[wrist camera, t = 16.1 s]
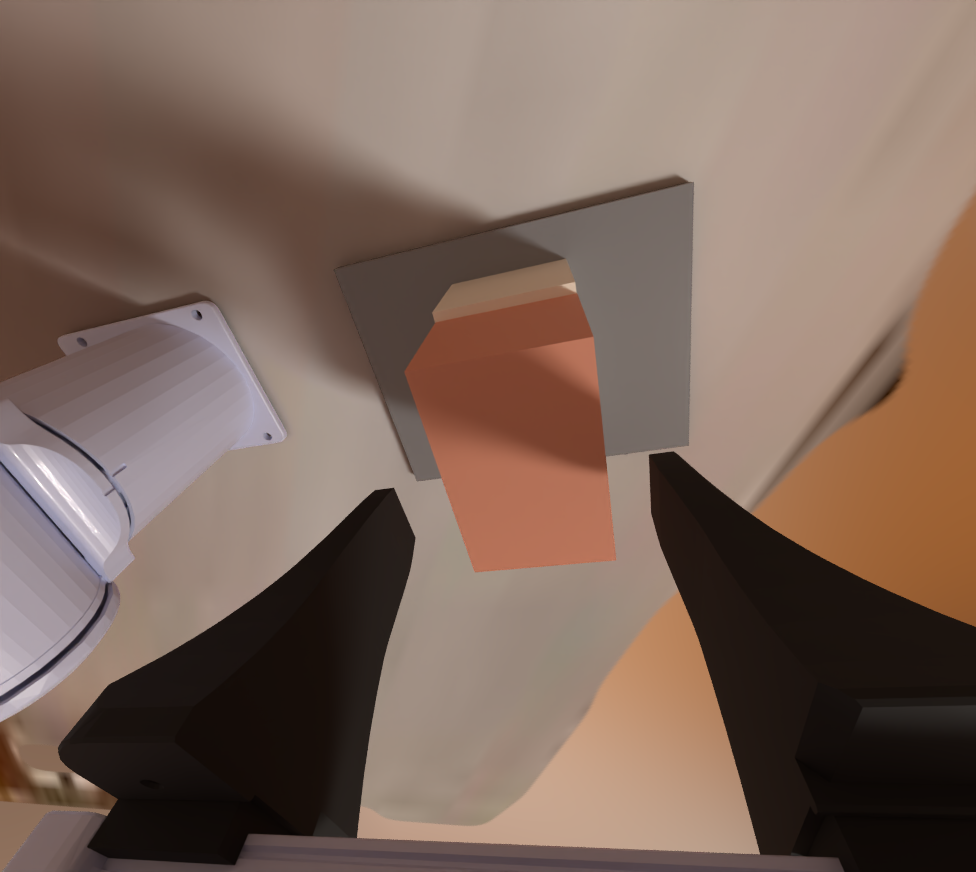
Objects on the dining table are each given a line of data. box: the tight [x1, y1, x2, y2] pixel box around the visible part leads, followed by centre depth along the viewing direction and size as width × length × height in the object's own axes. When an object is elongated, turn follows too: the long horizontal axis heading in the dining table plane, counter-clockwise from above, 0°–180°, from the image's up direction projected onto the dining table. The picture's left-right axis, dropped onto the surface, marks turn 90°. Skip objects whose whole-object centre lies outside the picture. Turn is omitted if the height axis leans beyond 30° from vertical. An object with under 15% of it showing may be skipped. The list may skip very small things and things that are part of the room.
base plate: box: [334, 182, 694, 481], centre depth 20 cm, size 15×12×1 cm
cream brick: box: [432, 259, 577, 322], centre depth 18 cm, size 5×8×4 cm, turn 13°
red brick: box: [404, 293, 616, 572], centre depth 15 cm, size 5×8×4 cm, turn 13°
